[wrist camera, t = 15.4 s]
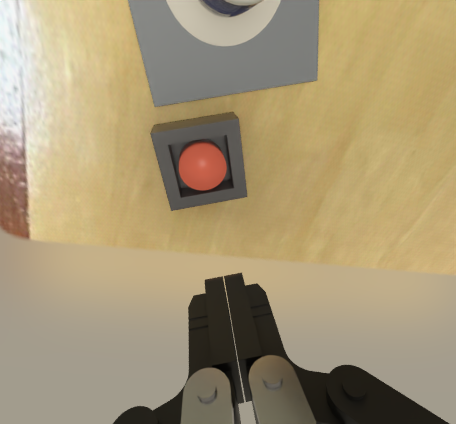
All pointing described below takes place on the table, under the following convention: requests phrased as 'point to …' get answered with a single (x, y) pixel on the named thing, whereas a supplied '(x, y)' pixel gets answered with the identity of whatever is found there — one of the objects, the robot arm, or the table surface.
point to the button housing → (195, 130)
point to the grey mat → (224, 47)
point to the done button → (202, 164)
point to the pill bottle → (228, 6)
